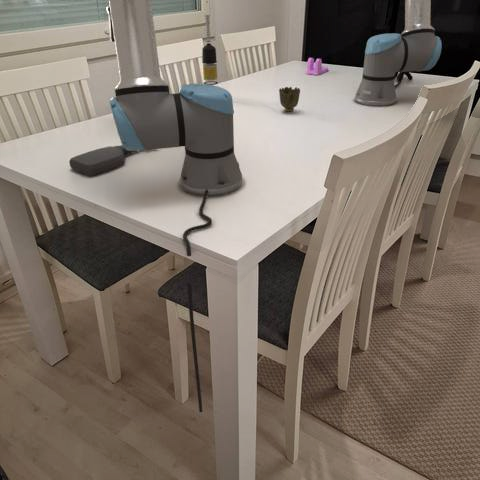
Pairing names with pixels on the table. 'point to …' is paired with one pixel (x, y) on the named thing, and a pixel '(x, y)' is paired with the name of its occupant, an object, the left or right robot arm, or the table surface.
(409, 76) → the squiggle
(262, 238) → the table surface
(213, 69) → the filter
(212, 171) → the left robot arm
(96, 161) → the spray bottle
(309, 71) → the bracket
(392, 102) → the right robot arm
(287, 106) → the cup
